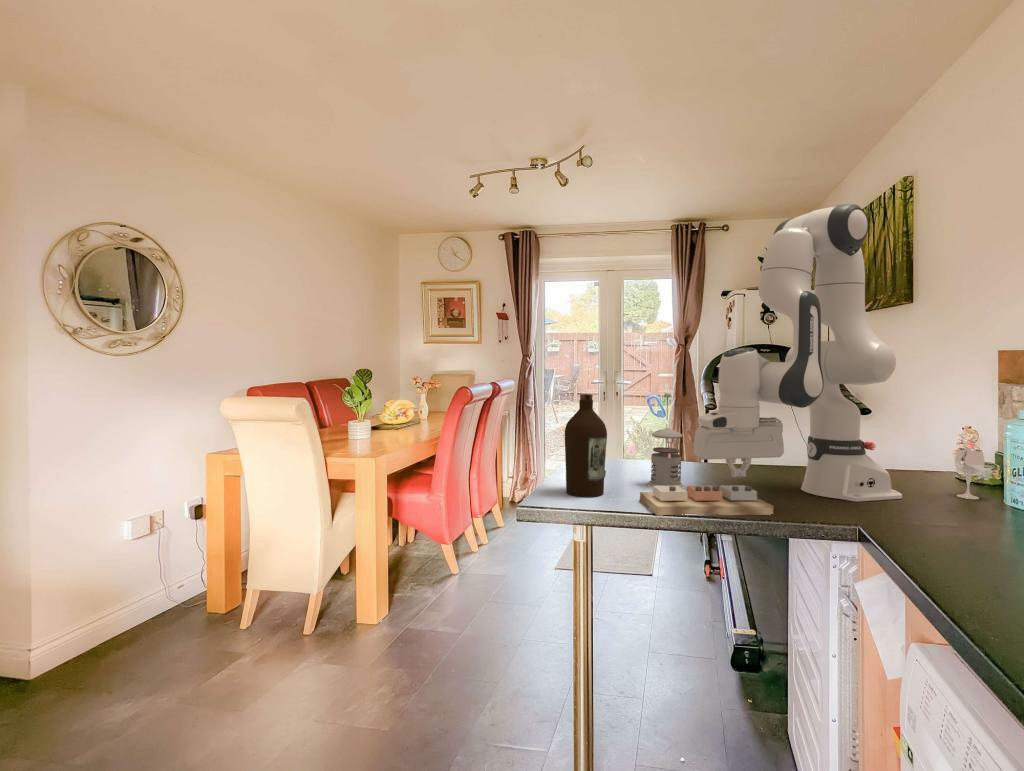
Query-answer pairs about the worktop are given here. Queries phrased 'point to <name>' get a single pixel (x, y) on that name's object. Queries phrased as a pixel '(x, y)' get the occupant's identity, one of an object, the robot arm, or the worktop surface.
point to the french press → (666, 459)
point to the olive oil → (585, 451)
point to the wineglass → (969, 466)
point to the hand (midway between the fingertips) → (738, 477)
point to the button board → (706, 506)
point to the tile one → (670, 493)
